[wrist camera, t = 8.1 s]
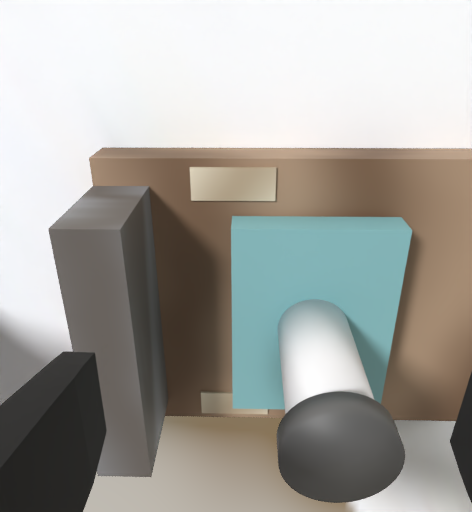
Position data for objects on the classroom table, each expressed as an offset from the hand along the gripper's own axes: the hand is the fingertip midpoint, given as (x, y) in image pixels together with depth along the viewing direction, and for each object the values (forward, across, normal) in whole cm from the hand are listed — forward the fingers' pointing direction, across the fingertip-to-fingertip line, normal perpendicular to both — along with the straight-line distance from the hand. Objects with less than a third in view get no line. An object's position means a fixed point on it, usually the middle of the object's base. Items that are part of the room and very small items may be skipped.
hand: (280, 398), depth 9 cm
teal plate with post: (+8, -2, +3) cm, 9 cm away
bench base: (+10, -3, +3) cm, 11 cm away
